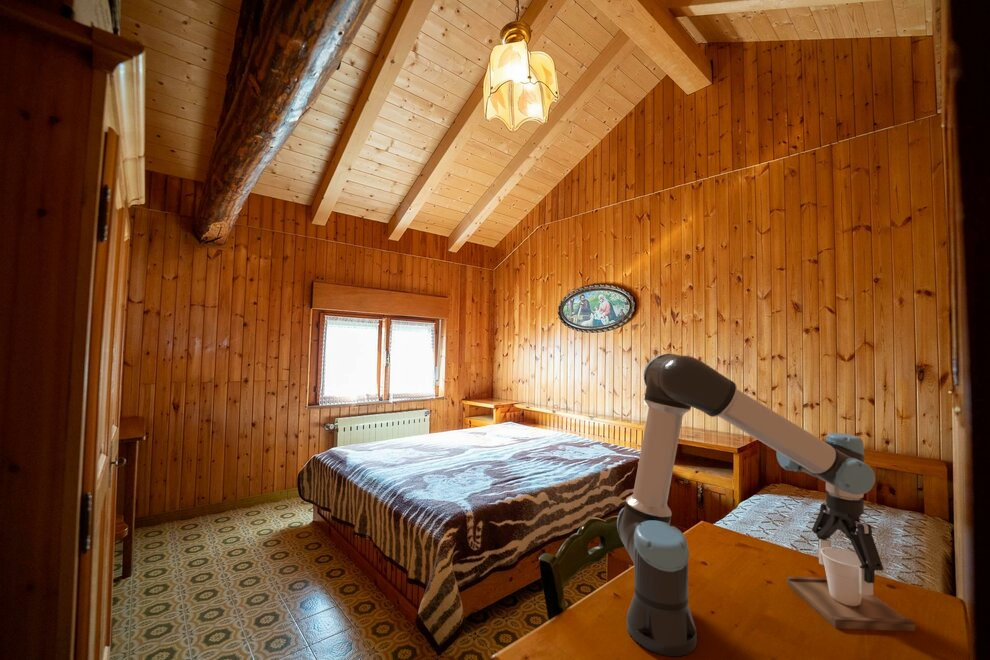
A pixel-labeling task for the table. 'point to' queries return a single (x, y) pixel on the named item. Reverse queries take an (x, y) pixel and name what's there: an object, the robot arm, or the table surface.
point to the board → (849, 608)
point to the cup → (842, 575)
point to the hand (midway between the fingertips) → (844, 578)
